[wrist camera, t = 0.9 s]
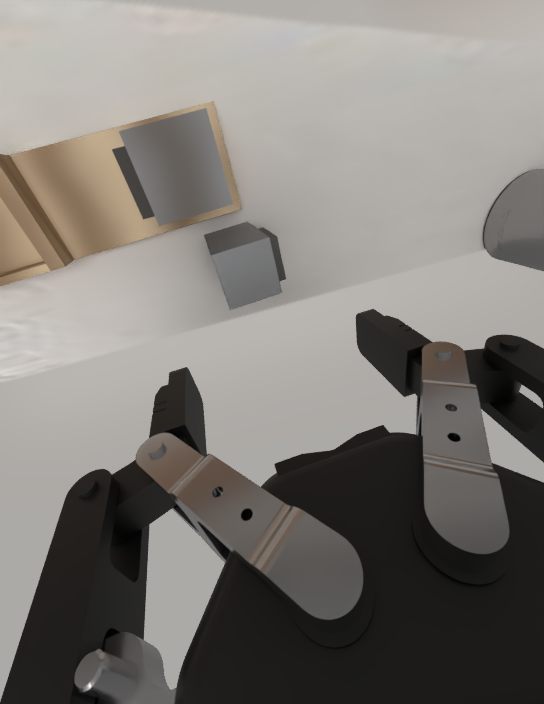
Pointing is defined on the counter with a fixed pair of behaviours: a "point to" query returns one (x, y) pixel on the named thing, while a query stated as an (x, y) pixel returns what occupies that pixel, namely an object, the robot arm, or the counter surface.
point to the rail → (111, 190)
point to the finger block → (246, 263)
